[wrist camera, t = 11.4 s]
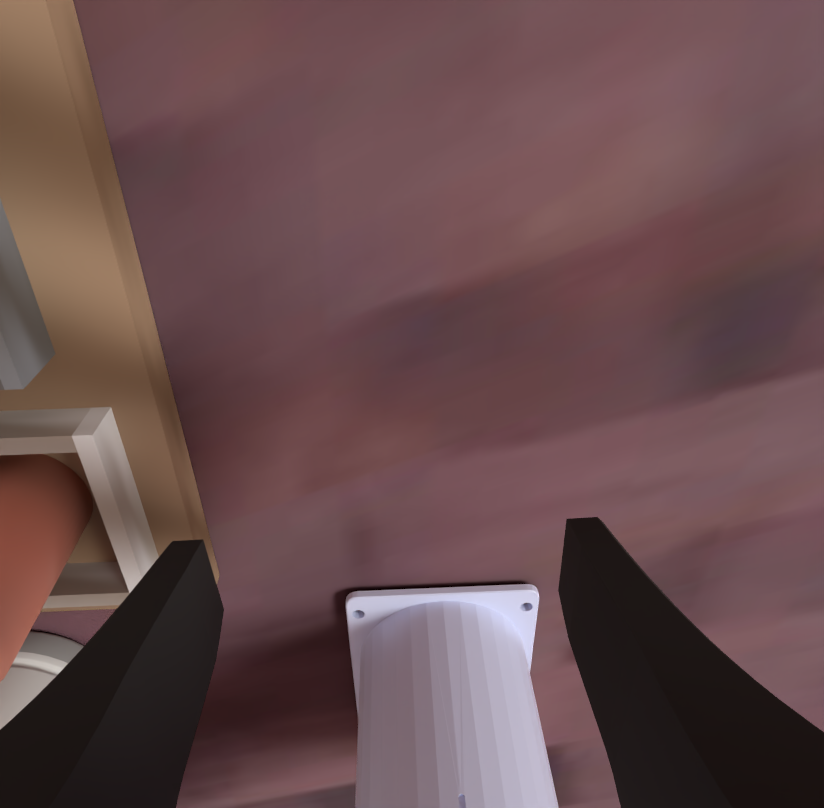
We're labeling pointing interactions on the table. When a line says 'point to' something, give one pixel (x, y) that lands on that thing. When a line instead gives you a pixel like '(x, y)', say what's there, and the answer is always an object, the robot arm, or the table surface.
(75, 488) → the cap
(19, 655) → the travel mug
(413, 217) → the table surface
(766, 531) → the table surface
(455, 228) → the table surface
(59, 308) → the board
